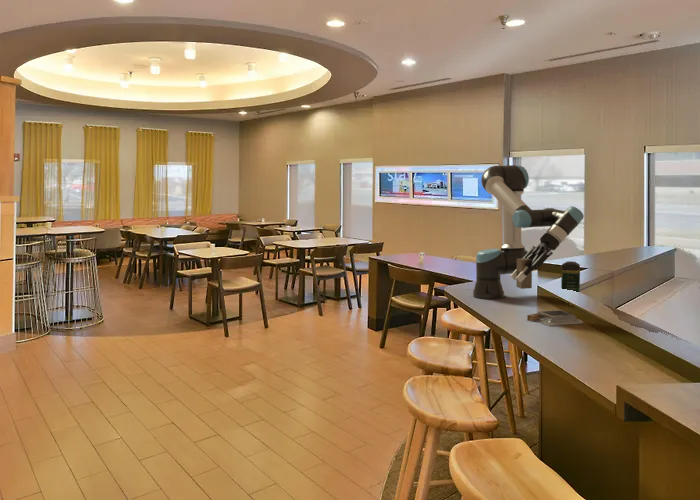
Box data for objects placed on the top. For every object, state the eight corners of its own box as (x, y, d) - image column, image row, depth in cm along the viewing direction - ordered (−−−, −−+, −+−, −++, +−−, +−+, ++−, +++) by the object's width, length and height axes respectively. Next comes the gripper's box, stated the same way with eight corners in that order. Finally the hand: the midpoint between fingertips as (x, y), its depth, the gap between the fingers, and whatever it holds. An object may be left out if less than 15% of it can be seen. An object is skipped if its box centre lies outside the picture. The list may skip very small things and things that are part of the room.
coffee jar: (579, 303, 231) (580, 263, 229) (560, 302, 234) (561, 262, 232) (579, 299, 239) (580, 260, 238) (561, 298, 243) (562, 260, 241)
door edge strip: (527, 320, 204) (527, 315, 204) (553, 314, 212) (553, 309, 212) (532, 321, 202) (532, 316, 201) (558, 315, 210) (558, 310, 209)
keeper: (530, 317, 207) (530, 310, 207) (562, 315, 209) (562, 308, 209) (548, 326, 194) (548, 318, 193) (582, 323, 196) (582, 315, 195)
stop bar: (516, 286, 215) (516, 258, 213) (526, 286, 215) (526, 258, 214) (521, 288, 210) (521, 260, 209) (531, 288, 211) (531, 259, 210)
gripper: (570, 246, 204) (531, 288, 204) (547, 242, 222) (511, 281, 221) (558, 233, 203) (519, 276, 203) (536, 230, 220) (500, 270, 220)
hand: (515, 278), depth 212 cm, fingers closed on stop bar, 4 cm apart
